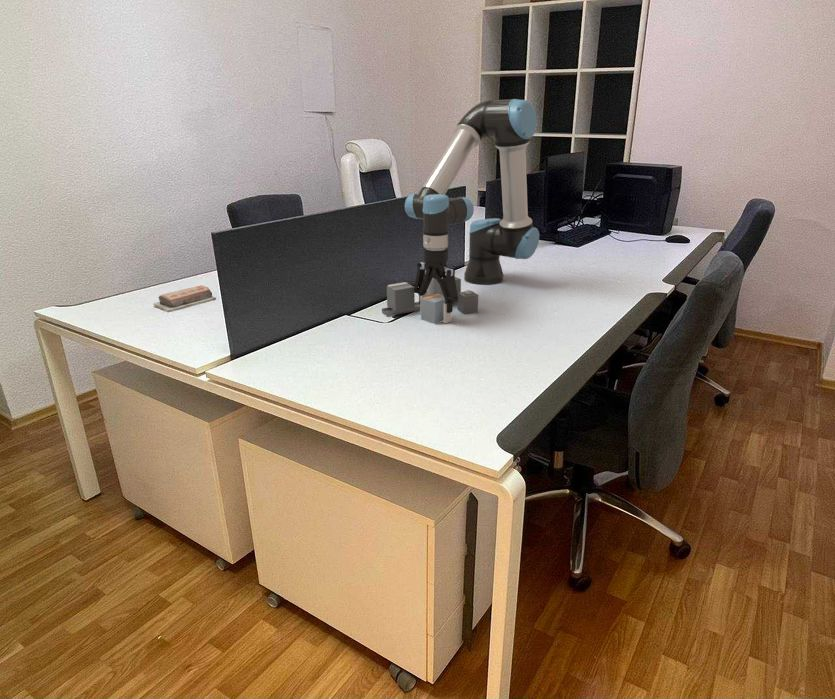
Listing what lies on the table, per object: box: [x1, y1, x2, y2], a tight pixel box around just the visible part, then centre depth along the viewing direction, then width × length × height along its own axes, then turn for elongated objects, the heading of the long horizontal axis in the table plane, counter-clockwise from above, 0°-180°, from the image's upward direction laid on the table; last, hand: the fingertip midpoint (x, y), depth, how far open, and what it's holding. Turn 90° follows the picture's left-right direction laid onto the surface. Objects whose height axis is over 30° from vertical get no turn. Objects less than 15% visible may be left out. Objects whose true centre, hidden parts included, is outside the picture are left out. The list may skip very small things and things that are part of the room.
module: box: [420, 294, 446, 325], centre depth 176 cm, size 7×6×7 cm
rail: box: [381, 301, 458, 317], centre depth 188 cm, size 30×4×2 cm, turn 120°
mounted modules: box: [386, 276, 462, 311], centre depth 187 cm, size 25×6×7 cm, turn 120°
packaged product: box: [153, 285, 217, 313], centre depth 195 cm, size 18×5×10 cm
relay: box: [457, 289, 479, 315], centre depth 183 cm, size 5×5×7 cm
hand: (435, 318), depth 178 cm, fingers open, 9 cm apart
